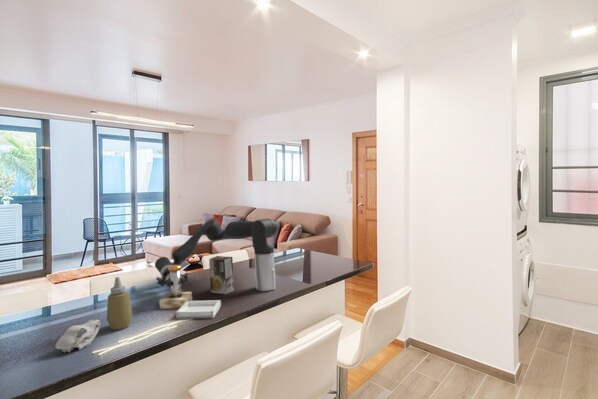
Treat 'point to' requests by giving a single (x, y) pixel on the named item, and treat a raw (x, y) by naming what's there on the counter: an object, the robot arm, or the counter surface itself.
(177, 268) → the pin
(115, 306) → the squeeze bottle
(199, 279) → the counter surface
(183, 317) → the tray
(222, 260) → the coffee box
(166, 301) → the socket block
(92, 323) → the skull
